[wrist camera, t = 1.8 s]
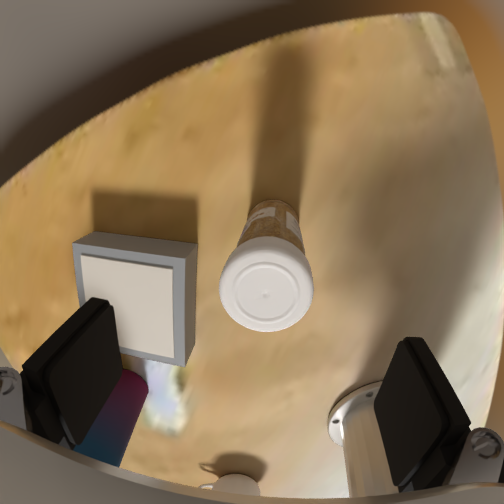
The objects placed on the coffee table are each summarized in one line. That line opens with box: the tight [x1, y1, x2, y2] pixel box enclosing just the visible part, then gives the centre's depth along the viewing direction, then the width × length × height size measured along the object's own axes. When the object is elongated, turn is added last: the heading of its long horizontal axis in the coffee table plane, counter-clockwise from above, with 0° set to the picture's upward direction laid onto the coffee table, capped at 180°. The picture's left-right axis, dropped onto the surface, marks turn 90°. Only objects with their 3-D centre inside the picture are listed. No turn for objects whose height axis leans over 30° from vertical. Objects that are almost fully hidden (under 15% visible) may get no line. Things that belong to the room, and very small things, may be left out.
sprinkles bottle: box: [219, 200, 314, 332], centre depth 21 cm, size 5×5×14 cm
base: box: [72, 231, 198, 367], centre depth 29 cm, size 11×11×4 cm
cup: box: [73, 369, 148, 467], centre depth 28 cm, size 7×7×15 cm
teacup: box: [198, 474, 260, 496], centre depth 38 cm, size 10×8×5 cm
